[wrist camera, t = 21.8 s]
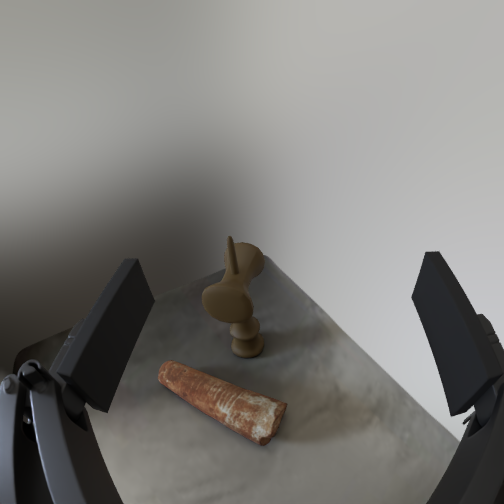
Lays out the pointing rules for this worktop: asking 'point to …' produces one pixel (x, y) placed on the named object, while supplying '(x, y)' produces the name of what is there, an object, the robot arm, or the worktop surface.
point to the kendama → (237, 297)
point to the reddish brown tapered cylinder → (225, 401)
